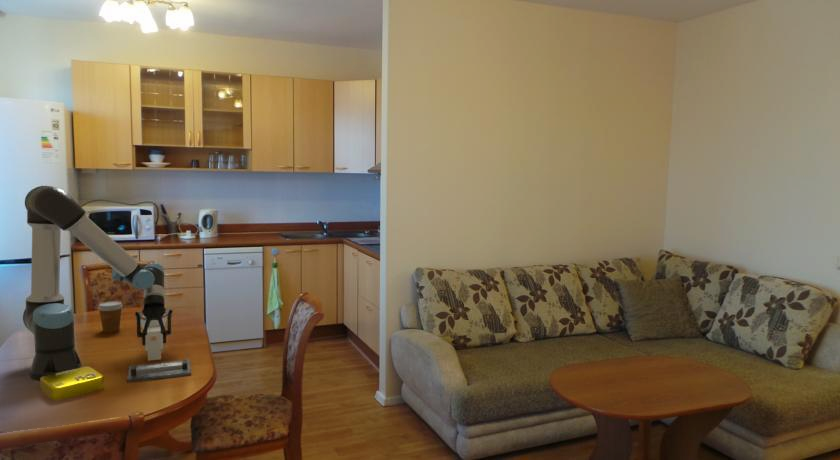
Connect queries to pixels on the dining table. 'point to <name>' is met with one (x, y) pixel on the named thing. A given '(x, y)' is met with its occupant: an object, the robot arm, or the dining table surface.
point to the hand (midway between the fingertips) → (154, 351)
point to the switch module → (154, 342)
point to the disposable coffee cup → (110, 315)
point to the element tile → (71, 383)
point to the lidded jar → (153, 321)
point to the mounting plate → (158, 370)
